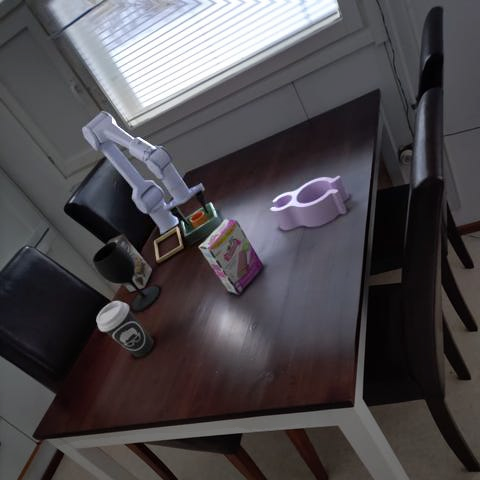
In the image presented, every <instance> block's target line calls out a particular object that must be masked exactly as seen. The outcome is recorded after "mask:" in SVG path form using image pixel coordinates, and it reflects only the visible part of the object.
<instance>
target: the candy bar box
mask: <svg viewBox="0 0 480 480" xmlns="http://www.w3.org/2000/svg"><path fill="white" fill-rule="evenodd" d="M197 248H198V249H199V250H200V252H201V253H202V255H203V256H204V258H205V259H206V261H207V263H208V264H209V265H210V267H211V268H212V269H213V271H214V272H215V274H216V275H217V277H218V278H219V280H220V281H221V283H222V284H223V285H224V287H225V288H226V290H227V291H228V292H229V293H232V294H236V295H238V296H240V295H241V294H242V292H243V291H244V290H245V289H246V288H247V287H248V286H249V285H250V283H252V282H253V280H254V279H255V278H256V276H257V275H259V273H260V272H261V271H262V270H263V268H265V266H264V264H263V262H262V260H261V259H260V256H259V255H258V254H257V253H256V250H255V249H254V247H253V246H252V244H251V242H250V240H249V238H248V237H247V235H246V234H245V232H244V230H243V228H242V227H241V225H240V223H239V221H238V220H237V219H228V218H225V219H223V221H221V224H220V225H219V226H218V227H217V229H215V230H214V231H212V232H211V233H210V234H209V235H208V237H206V239H204V240H203V242H202V243H201V244H200V245H199V246H198V247H197Z"/></svg>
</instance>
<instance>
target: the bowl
mask: <svg viewBox="0 0 480 480" xmlns="http://www.w3.org/2000/svg"><path fill="white" fill-rule="evenodd" d="M190 222H191V223H192V225H193V226H194V227H195V228H198V227H199V226H201V225H203V224H204V223H206V222H207V217H206V216H205V214H204V213H203V212H201V211H200V212H197V213H196V214H194V215H193V216H192V217H191V219H190Z"/></svg>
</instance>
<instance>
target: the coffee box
mask: <svg viewBox="0 0 480 480" xmlns="http://www.w3.org/2000/svg"><path fill="white" fill-rule="evenodd" d="M111 242H116V243H118V244H119V245H121V246H122V247H123V248H125V249H126V250H127V251H128V252H129V254H130V255H131V256H132V258H133V260H134V264H135V272H134V276H133V281H134V283H135V284H136V286H137V287H138V288H139V289H140V290H141V289H145V288H146V285H147V283H148V281H149V278H150V277H151V274H152V272H153V269H152V268H151V266H150V265H149V264H148V263H147V261H146V260H145V259H144V258H143V256H141V254H140V253H139V252H138V251H137V249H136V248H135V247H134V246H133V244H132V243H131V242H130V240H128V238H127V237H126V235H124V234H120V235H117V236H116V237H115V236H114V237H113V238H111V239H109V240H108V241H107V243H106V245H107V244H109V243H111ZM123 286H125V287H126V289H127V290H128V291H129V292H130V293H132V292H134V291H135V292H136V291H137V290H136V289H135V288H134V287H133V286H132V285H131V284H129V283H124V284H123Z"/></svg>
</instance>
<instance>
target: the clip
mask: <svg viewBox="0 0 480 480" xmlns="http://www.w3.org/2000/svg"><path fill="white" fill-rule="evenodd" d="M349 198H350V197H349V195H348V192H347V190H346V187H345V185H344V183H343V180H342V177H341V176H340V175H337V176H335V177H334V178H333V177H329V176H321V177H318V178H315V179H312V180H310V181H308V182H306V183H304V184H303V185H302V186H300V187H299V188H297V189H295V190H293V191H286V192H283V193H282V194H279V195H278V196H276V197H275V198H274V199H273V200H272V203H273V205H274V206H272V207H271V208H270V211H271V214H272V215H273V217H274V219H275V220H276V222H277V225H278V226H279V228H280V229H281V230H283V231H290V230H293V229H295V228H298V227H300V226H305V227H309V228H316V227H321V226H323V225H326V224H328V223H330V222H332V221H333V220H335V219H336V218H337V217H338V216H339V215H346V214H347V207H345V204H344V202H346V201H347V200H348V199H349Z"/></svg>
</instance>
